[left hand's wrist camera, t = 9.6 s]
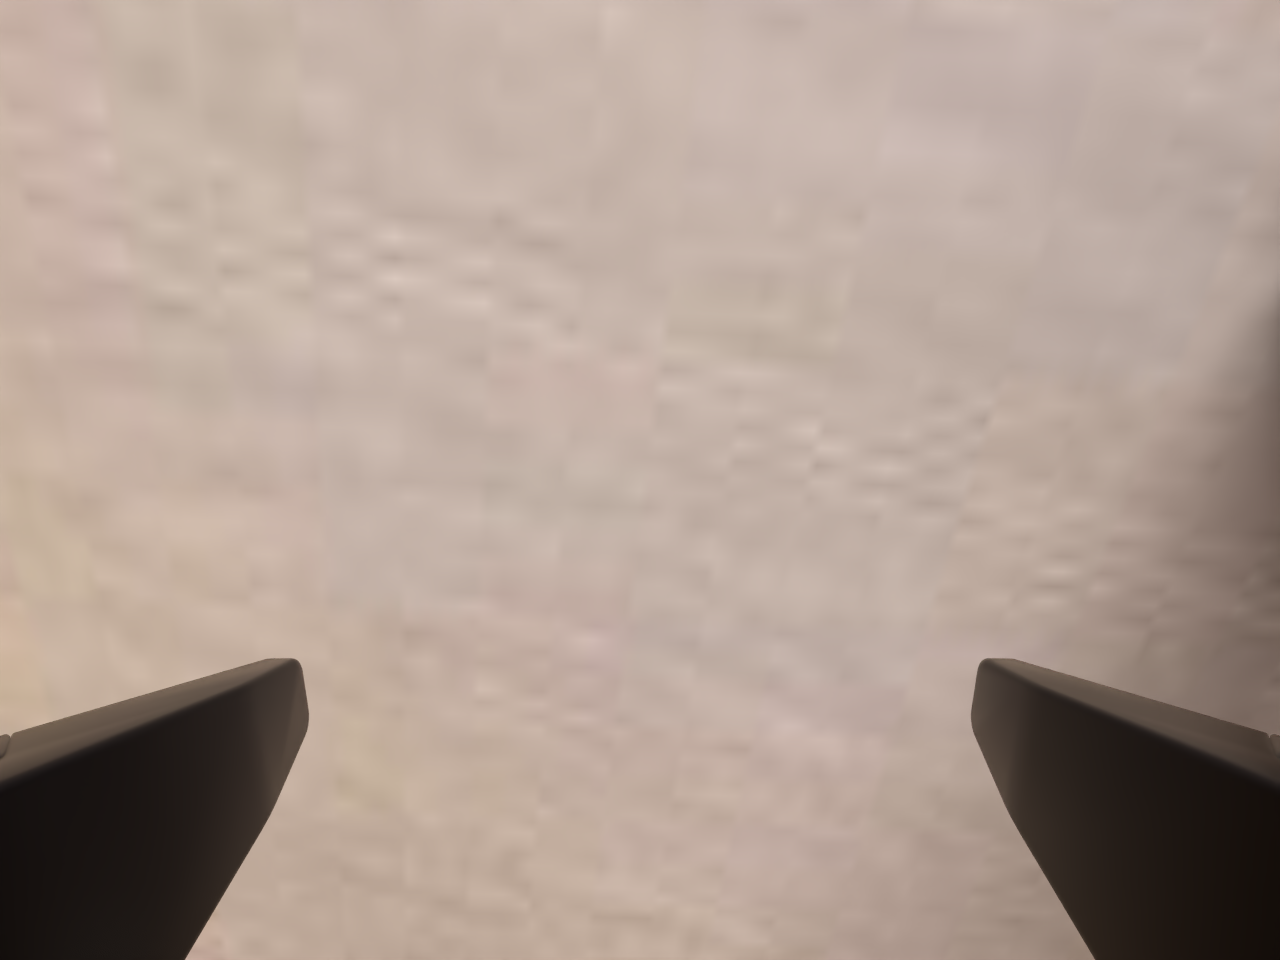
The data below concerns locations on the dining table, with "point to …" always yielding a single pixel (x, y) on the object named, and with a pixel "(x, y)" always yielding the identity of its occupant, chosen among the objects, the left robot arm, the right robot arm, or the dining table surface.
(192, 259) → the dining table surface
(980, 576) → the dining table surface
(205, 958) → the dining table surface
